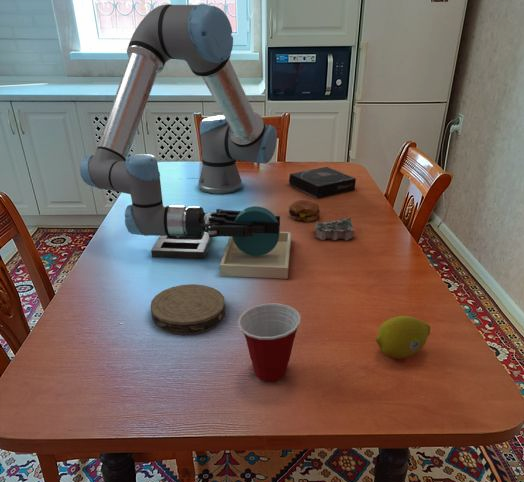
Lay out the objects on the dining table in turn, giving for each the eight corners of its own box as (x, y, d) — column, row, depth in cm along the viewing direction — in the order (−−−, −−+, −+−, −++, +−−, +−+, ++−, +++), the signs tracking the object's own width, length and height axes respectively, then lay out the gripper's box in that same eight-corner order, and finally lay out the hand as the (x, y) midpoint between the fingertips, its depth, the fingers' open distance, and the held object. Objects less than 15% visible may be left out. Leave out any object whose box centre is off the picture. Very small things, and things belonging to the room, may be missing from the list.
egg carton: (351, 230, 143) (352, 217, 140) (353, 241, 137) (355, 227, 134) (314, 229, 143) (315, 216, 141) (315, 240, 137) (316, 226, 135)
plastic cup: (238, 356, 94) (236, 302, 87) (293, 353, 95) (296, 300, 88) (241, 393, 85) (239, 337, 78) (302, 389, 86) (305, 334, 79)
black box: (324, 177, 183) (325, 166, 181) (354, 190, 172) (355, 178, 169) (288, 184, 176) (289, 173, 174) (317, 198, 165) (317, 186, 162)
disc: (234, 256, 127) (229, 211, 120) (235, 251, 130) (231, 207, 122) (280, 255, 126) (277, 209, 119) (280, 249, 128) (278, 205, 121)
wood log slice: (138, 326, 102) (135, 314, 101) (174, 290, 114) (172, 279, 113) (206, 341, 98) (205, 328, 96) (236, 302, 110) (236, 291, 108)
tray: (232, 240, 138) (231, 229, 136) (291, 242, 137) (291, 231, 135) (220, 276, 120) (219, 265, 119) (287, 278, 119) (287, 267, 117)
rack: (151, 257, 129) (150, 250, 128) (164, 237, 139) (163, 230, 138) (204, 259, 128) (203, 252, 127) (212, 238, 138) (212, 232, 137)
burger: (310, 209, 157) (311, 194, 154) (325, 219, 150) (326, 204, 147) (282, 214, 153) (283, 199, 151) (296, 224, 147) (297, 209, 144)
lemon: (378, 368, 91) (385, 333, 86) (366, 344, 97) (371, 310, 93) (434, 363, 92) (443, 328, 87) (418, 340, 98) (426, 306, 94)
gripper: (194, 223, 133) (280, 226, 131) (181, 248, 120) (277, 252, 118) (192, 196, 128) (281, 198, 127) (178, 219, 115) (277, 222, 114)
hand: (279, 224), depth 122 cm, fingers closed on disc, 3 cm apart
